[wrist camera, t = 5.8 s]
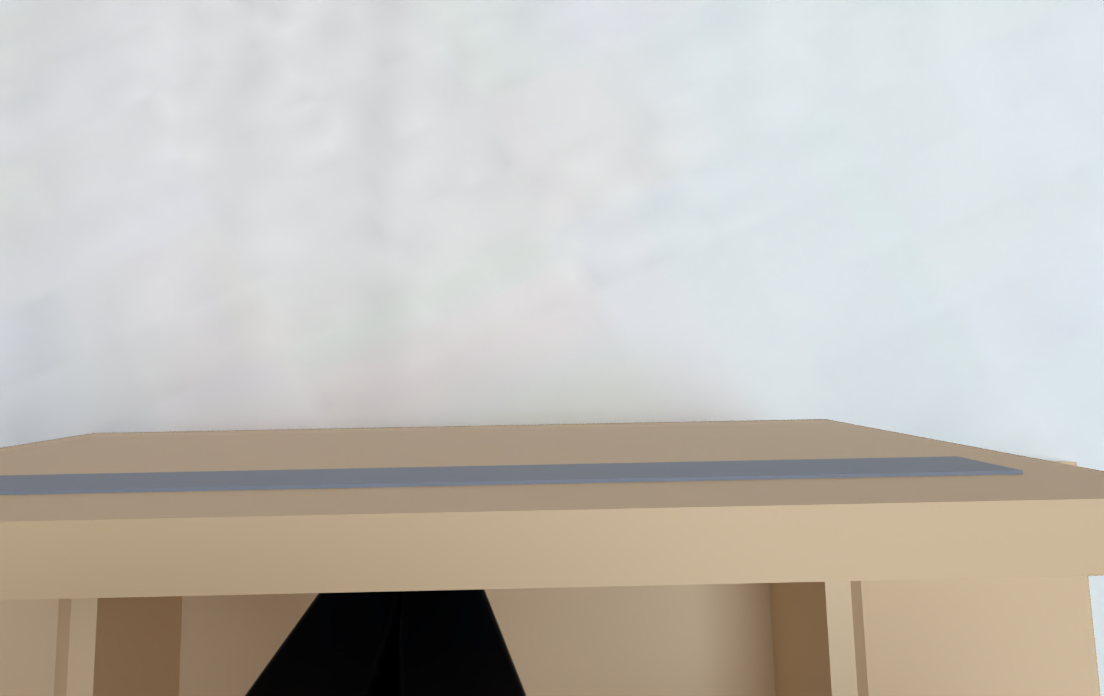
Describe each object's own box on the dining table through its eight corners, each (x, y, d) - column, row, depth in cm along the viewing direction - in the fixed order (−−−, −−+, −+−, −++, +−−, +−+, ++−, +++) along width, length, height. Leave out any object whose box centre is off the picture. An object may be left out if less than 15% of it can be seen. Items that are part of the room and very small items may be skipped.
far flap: (825, 453, 15) (1237, 577, 6) (93, 467, 15) (-543, 617, 6) (825, 417, 15) (1235, 491, 6) (93, 431, 15) (-543, 528, 6)
